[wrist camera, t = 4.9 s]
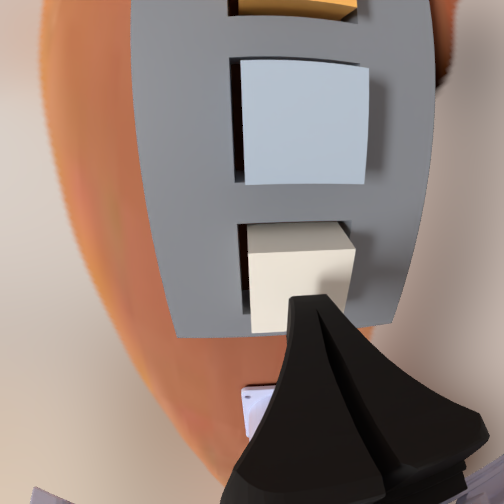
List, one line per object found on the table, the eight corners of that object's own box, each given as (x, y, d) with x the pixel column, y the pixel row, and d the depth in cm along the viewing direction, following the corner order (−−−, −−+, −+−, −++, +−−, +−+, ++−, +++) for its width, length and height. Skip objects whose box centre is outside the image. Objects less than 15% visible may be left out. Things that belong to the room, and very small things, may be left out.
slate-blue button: (341, 166, 11) (364, 184, 9) (244, 167, 11) (245, 185, 9) (343, 73, 9) (368, 68, 7) (241, 69, 9) (240, 60, 7)
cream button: (328, 293, 14) (340, 326, 12) (250, 297, 14) (251, 333, 12) (336, 221, 12) (355, 248, 10) (246, 224, 12) (248, 253, 10)
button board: (379, 301, 17) (391, 323, 15) (182, 313, 16) (177, 337, 15) (396, -50, 6) (414, -62, 4) (151, -62, 6) (139, -79, 4)
